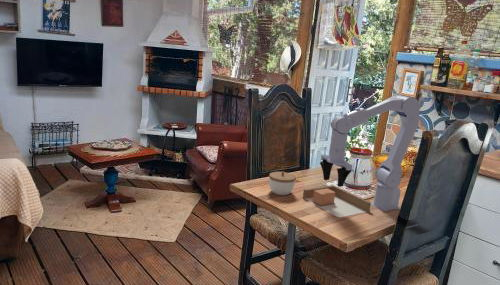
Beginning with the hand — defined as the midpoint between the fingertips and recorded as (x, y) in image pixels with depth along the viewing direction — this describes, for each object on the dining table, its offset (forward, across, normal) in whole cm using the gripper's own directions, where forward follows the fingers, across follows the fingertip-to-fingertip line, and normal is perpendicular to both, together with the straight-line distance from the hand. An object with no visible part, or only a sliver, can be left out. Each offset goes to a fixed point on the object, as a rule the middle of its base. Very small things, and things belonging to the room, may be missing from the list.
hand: (333, 182), depth 143 cm
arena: (+9, +1, +2) cm, 10 cm away
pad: (+9, -2, -2) cm, 9 cm away
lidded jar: (+9, -17, -11) cm, 23 cm away
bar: (+8, -2, -2) cm, 9 cm away
